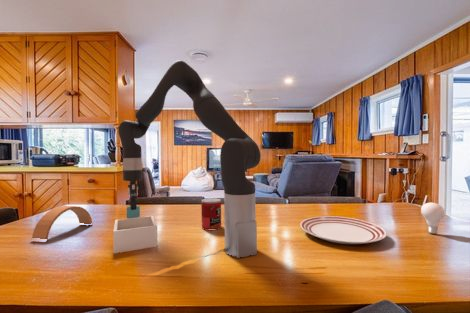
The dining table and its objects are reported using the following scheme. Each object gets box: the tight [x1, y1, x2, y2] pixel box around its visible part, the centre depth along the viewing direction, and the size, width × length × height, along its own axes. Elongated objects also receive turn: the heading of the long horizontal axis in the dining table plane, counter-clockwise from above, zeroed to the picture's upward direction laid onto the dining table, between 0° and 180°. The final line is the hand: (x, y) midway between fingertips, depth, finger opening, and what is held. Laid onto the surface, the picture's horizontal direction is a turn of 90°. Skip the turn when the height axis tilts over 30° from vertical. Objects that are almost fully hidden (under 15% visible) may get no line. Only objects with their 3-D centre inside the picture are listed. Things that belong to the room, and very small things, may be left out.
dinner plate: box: [299, 215, 388, 245], centre depth 83 cm, size 27×27×3 cm
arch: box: [31, 205, 93, 240], centre depth 89 cm, size 6×20×10 cm, turn 168°
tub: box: [112, 215, 158, 254], centre depth 76 cm, size 14×12×7 cm
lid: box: [126, 205, 141, 219], centre depth 92 cm, size 15×13×8 cm
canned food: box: [200, 197, 222, 230], centre depth 93 cm, size 8×8×11 cm
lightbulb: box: [420, 202, 446, 235], centre depth 82 cm, size 6×6×11 cm
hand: (133, 207), depth 98 cm, fingers open, 8 cm apart
